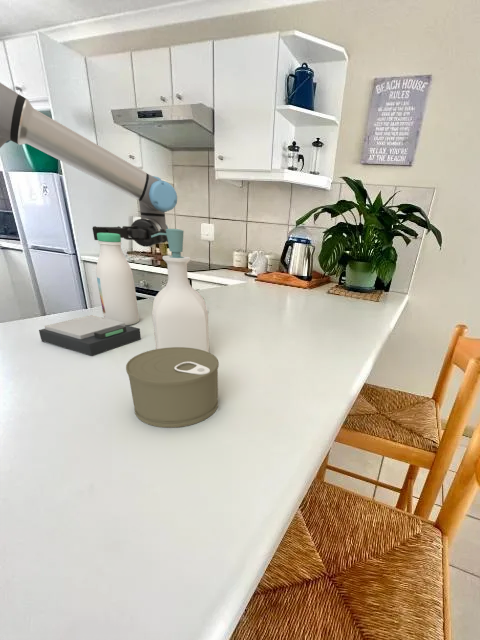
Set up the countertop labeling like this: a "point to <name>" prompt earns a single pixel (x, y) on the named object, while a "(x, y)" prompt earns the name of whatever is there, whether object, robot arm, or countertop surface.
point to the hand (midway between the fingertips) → (124, 236)
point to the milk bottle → (115, 281)
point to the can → (174, 386)
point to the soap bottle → (179, 303)
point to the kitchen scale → (89, 334)
